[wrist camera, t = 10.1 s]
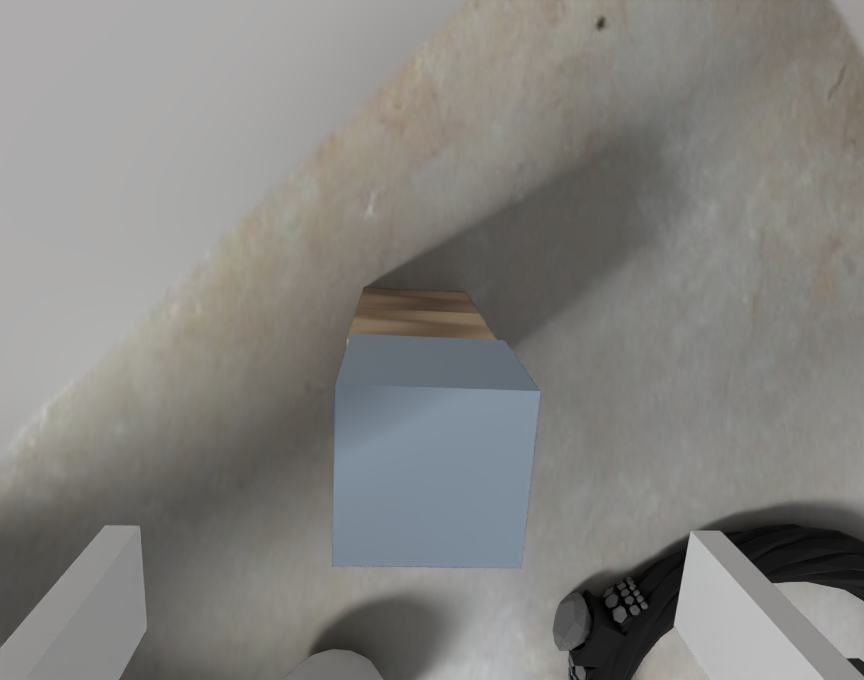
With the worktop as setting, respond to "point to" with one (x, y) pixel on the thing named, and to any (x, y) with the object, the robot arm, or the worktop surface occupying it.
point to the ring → (660, 586)
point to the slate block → (432, 453)
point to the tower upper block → (419, 324)
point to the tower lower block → (416, 300)
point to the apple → (335, 667)
